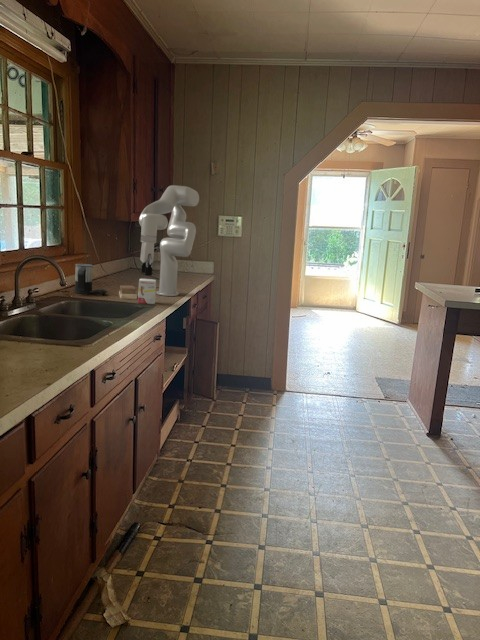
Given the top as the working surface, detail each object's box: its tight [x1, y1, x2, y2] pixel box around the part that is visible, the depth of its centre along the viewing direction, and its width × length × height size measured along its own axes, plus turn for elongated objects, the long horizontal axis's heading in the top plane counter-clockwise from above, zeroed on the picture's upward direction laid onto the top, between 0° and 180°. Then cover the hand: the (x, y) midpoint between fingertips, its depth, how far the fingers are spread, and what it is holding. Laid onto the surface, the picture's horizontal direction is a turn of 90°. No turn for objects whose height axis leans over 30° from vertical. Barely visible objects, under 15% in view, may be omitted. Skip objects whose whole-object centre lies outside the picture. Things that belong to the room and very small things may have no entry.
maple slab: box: [118, 290, 138, 300], centre depth 252 cm, size 8×8×3 cm
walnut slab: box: [119, 285, 137, 294], centre depth 252 cm, size 7×7×3 cm
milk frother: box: [73, 263, 108, 295], centre depth 252 cm, size 14×16×15 cm
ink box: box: [137, 278, 157, 305], centre depth 242 cm, size 9×5×12 cm, turn 100°
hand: (146, 274), depth 240 cm, fingers open, 9 cm apart
